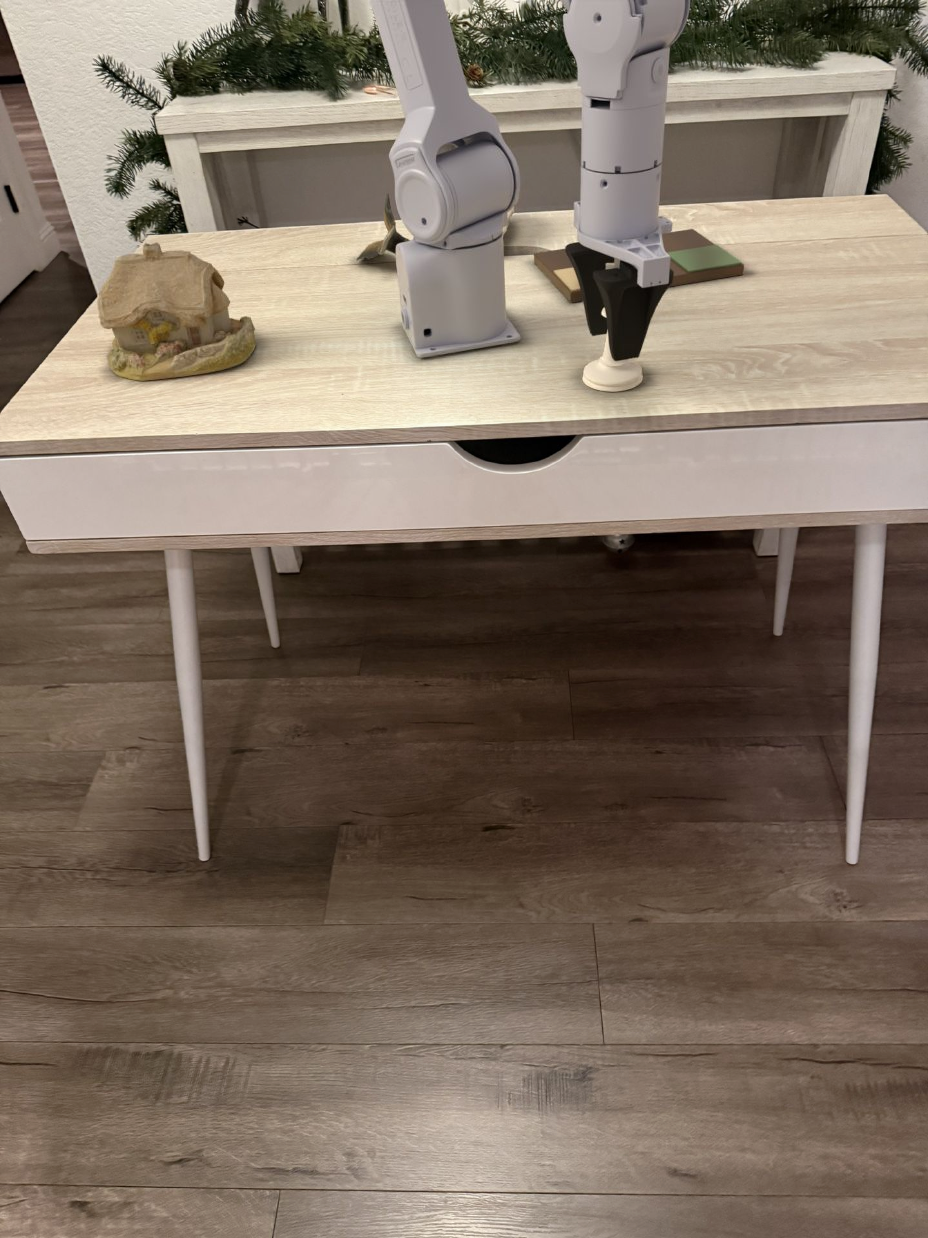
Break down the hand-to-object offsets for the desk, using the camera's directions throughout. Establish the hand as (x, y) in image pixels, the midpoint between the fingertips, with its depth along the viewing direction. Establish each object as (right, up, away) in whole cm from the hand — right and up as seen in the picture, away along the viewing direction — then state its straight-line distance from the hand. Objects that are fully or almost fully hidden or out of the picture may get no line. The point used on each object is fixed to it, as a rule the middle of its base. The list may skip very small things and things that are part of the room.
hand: (613, 344), depth 74 cm
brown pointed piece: (-20, +17, +26) cm, 37 cm away
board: (+5, +14, +20) cm, 25 cm away
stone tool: (-10, +21, +31) cm, 39 cm away
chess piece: (0, -2, +2) cm, 3 cm away
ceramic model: (-38, +3, +12) cm, 40 cm away
